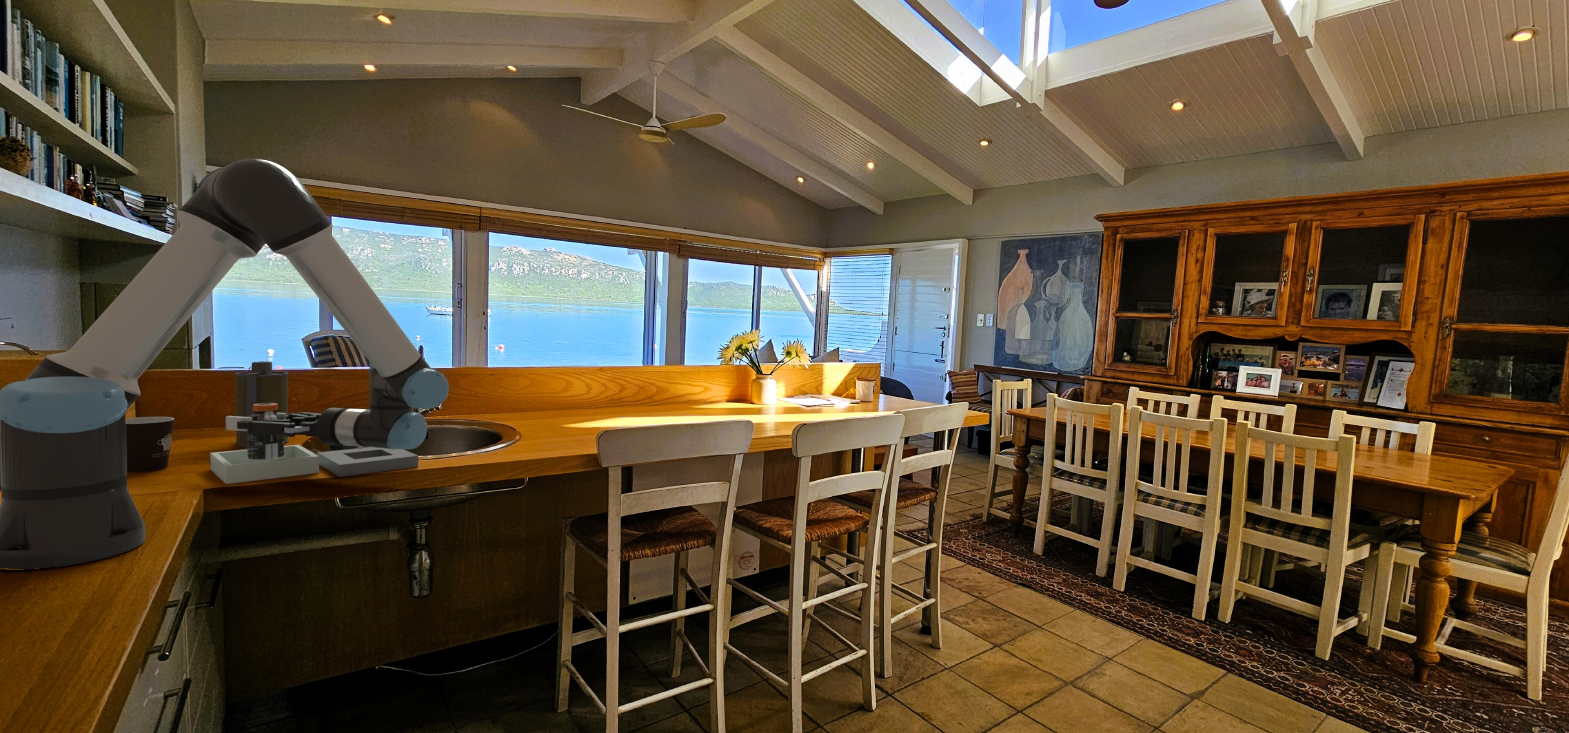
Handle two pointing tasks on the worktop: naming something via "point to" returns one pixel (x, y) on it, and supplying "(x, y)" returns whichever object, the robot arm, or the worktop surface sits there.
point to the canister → (259, 392)
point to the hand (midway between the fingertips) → (242, 420)
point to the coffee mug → (148, 443)
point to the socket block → (366, 460)
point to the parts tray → (263, 465)
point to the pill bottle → (265, 444)
